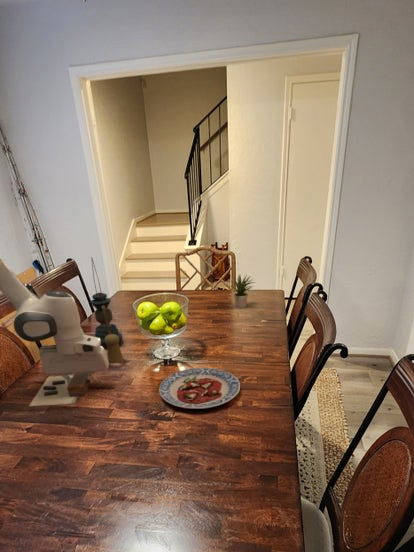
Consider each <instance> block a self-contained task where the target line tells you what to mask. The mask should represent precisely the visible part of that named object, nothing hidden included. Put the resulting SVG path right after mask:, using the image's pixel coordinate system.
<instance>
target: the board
mask: <svg viewBox="0 0 414 552" xmlns="http://www.w3.org/2000/svg"><path fill="white" fill-rule="evenodd" d="M74 374H75V373H71V374H67V375H68V376H69V377H70V378H72V377H73V376H74ZM60 380H65V384H59V385H53V384H52V382H53V381H60ZM44 386H56V390H57V391H58V394H56V395H49V396H44V392H49V391H56V390H43V387H44ZM67 386H68V383H67V380H66V379H64V378H63V377H62V374H55V375H48V376H47V378H46V380H45V381H44V383H43V384H42V385H41V387H40V388H39V390H38V391H37V393H36V394H35V396H34V398H33V399H32V400H31V401H30V404H29V405H28V407H39V406H40V407H41V406H54V405H56V406H57V405H68V404H69V405H71V404H75V402H77V401H76V400H77V398H78V397H79V396H77V397H69V393H68V390H67Z"/></svg>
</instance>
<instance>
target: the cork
mask: <svg viewBox="0 0 414 552" xmlns="http://www.w3.org/2000/svg"><path fill="white" fill-rule="evenodd" d="M104 341H105V343H106V344H107V349H106V354H107V357H108V361H109V364H121V365H122V364H124V363H125V360H124V359H125V358H124V356H123V354H122V350H121V347H120V345H119V344H118V343H119V337H118V336H117V335H115V334H110V335H107V336H106V337H105V340H104Z"/></svg>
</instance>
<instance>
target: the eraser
mask: <svg viewBox="0 0 414 552" xmlns="http://www.w3.org/2000/svg"><path fill="white" fill-rule="evenodd" d="M73 374H74V376H73V377H72V379H71V381H70V383H69V385H68V386H67V390H68V393H69V397H77V396H78V397H86V395H87V393H88V391H89V388H90V386H91V384H92V383H87V377H90V375H91V374H89V373H88V372H78V373H73ZM92 378H93V379H94V375H93V376H92ZM78 397H77V398H78Z"/></svg>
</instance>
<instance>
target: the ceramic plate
mask: <svg viewBox="0 0 414 552" xmlns="http://www.w3.org/2000/svg"><path fill="white" fill-rule="evenodd" d="M240 389H241V382H240V381H239V379H238V377H236V376H235V375H233V373H230V372H228V371H226V370H223V369H220V368H214V367H193V368H188V369H184V370H180V371H177V372H175V373H173V374H170V375H169V376H167V377H166V378H165V379H163V380H162V382H161V383H160V384H159V387H158V392H159V395H160V397H161V399H163V400H164V401H165V402H166V403H168V404H170V405H172V406H175V407H178V408H183V409H191V410H197V409H209V408H210V409H211V408H214V407H215V408H216V407H217V406H221V405H224V404H226V403H228V402H230V401H232V400H233V399H234V398H235V397H236V396H237V395H239V392H240Z"/></svg>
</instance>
